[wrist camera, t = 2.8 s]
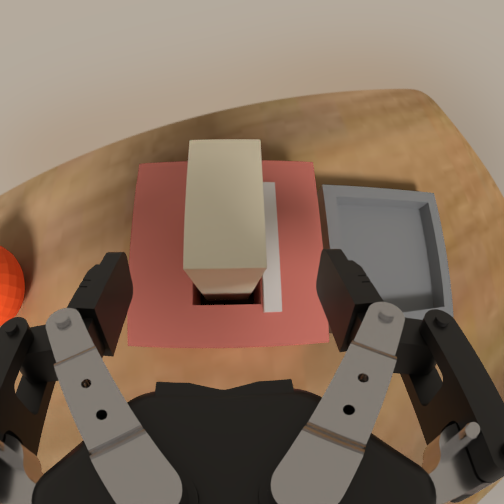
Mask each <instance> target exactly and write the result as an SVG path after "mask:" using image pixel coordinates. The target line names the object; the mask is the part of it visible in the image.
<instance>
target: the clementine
mask: <svg viewBox="0 0 504 504" xmlns="http://www.w3.org/2000/svg"><path fill="white" fill-rule="evenodd" d="M24 293H25V281H24V276H23V271H22V269H21V266H20V264H19V263H18V261H17V260H16V258H15V257H14V256H13V254H12V253H10V252H9V251H8V250H6V249H5V248H3V247H2V246H0V326H1V325H3V324H4V323H5V322H6V321H8V320H10V319H12V318H14V317H15V316H16V315H17V313H18V311H19V309H20V308H21V305H22V302H23V299H24Z"/></svg>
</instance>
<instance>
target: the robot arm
mask: <svg viewBox="0 0 504 504" xmlns="http://www.w3.org/2000/svg"><path fill="white" fill-rule="evenodd" d="M316 290H317V295H318V297H319V300H320V302H321V305H322V308H323V310H324V313H325V315H326V318H327V320H328V323H329V325H330V328H331V331H332V333H333V336H334V338H335V341H336V344H337V346H338V349H339V352H344V351H347V352H346V354H345V356H344V358H343V360H342V362H341V364H340V366H339V368H338V369H337V371H336V373H335V375H334V377H333V379H332V381H331V383H330V384H329V386H328V388H327V390H326V392H325V394H324V395H323V397H320V396H318V395H316V394H313V393H311V392H308V391H304V390H300V389H293V384H292V380H291V379H287V380H275V381H259V382H255V383H251V384H247V385H244V386H240V387H236V388H232V389H227V390H219V389H214V388H209V387H205V386H200V385H196V384H191V383H170V382H156V389H155V392H150V393H146V394H143V395H141V396H138V397H136V398H134V399H132V400H130V401H129V402H126V400H125V399H124V397H123V395H122V394H121V392H120V390H119V389H118V387H117V385H116V384H115V382H114V380H113V378H112V376H111V375H110V373H109V371H108V369H107V367H106V366H105V364H104V362H103V360H102V357H103V356H114V352H115V349H116V346H117V342H118V339H119V336H120V333H121V330H122V327H123V324H124V321H125V318H126V315H127V312H128V309H129V306H130V303H131V300H132V297H133V283H132V279H131V274H130V270H129V265H128V260H127V256H126V254H125V253H124V252H108V253H106V255H105V256H104V258H103V260H102V262H101V263H100V264H96V265H95V266H94V267H93V268H91V269H90V270H89V271H88V272H87V274H86V275H85V277H84V279H83V281H82V282H81V284H80V285H79V288H78V289H77V291H76V292H75V294H74V296H73V298H72V299H71V301H70V303H69V305H68V307H67V308H64V309H60V310H58V311H56V312H54V313H53V314H52V315H51V316H50V317H49V318H48V320H47V322H46V325H41V326H36V327H31V328H30V327H29V325H28V323H27V321H26V320H25V319H24V318H22V317H15V318H12V319H10V320H8V321H6V322H5V323H4V324H3V325H2V326H1V328H0V504H445V503H447V502H454V503H455V502H460V501H462V500H464V499H466V498H468V497H470V496H472V495H473V494H475V493H477V492H479V491H480V490H482V489H484V488H486V487H487V486H489V485H491V484H492V483H494V482H495V481H497V480H498V479H500V478H502V477H503V476H504V403H503V401H502V399H501V397H500V395H499V393H498V391H497V389H496V387H495V385H494V384H493V382H492V380H491V378H490V376H489V375H488V373H487V371H486V369H485V368H484V366H483V364H482V362H481V361H480V359H479V357H478V356H477V354H476V352H475V351H474V349H473V348H472V346H471V344H470V343H469V341H468V340H467V338H466V336H465V335H464V333H463V332H462V330H461V329H460V327H459V326H458V324H457V323H456V321H455V320H454V318H453V317H452V316H451V315H449V314H448V313H446V312H444V311H442V310H438V309H432V310H429V311H427V312H426V314H425V316H424V318H423V320H420V319H413V318H406V317H405V316H404V314H403V312H402V311H401V310H400V309H399V308H398V307H397V306H395V305H393V304H391V303H387V302H384V301H383V299H382V298H381V296H380V295H379V293H378V291H377V290H376V288H375V287H374V285H373V284H372V282H371V281H370V279H369V277H368V276H367V274H366V273H365V271H364V270H363V268H362V267H361V266H360V265H358V264H357V263H356V262H354V261H353V260H348V259H347V257H346V256H345V254H344V253H343V251H342V250H341V249H323V250H322V252H321V256H320V263H319V268H318V274H317V280H316ZM436 364H437V365H438V367H439V369H440V371H441V373H442V375H443V382H442V380H441V378H440V376H439V374H438V372H437V370H436V368H435V365H436ZM19 370H20V371H21V373H22V374H23V375H22V378H21V381H20V383H19V386H18V389H17V392H16V394H15V390H14V384H15V381H16V378H17V375H18V373H19ZM393 373H400V374H401V377H402V379H403V382H404V384H405V387H406V389H407V392H408V394H409V397H410V399H411V402H412V405H413V407H414V410H415V413H416V415H417V418H418V421H419V423H420V426H421V429H422V432H423V435H424V438H425V441H426V443H427V447H426V448H425V450H424V453H423V464H422V467H421V466H419V465H418V464H416V463H415V462H413V461H412V460H410V459H409V458H407V457H406V456H404V455H403V454H401V453H400V452H398V451H397V450H395V449H394V448H392V447H391V446H389V445H388V444H386V443H385V442H383V441H382V440H380V439H379V438H378V437H376V436H375V435H373V434H372V433H371V432H372V429H373V427H374V424H375V422H376V419H377V417H378V414H379V412H380V409H381V406H382V403H383V401H384V398H385V395H386V392H387V389H388V386H389V383H390V380H391V377H392V374H393ZM58 380H59V383H60V386H61V389H62V391H63V394H64V396H65V399H66V402H67V404H68V407H69V409H70V411H71V414H72V416H73V418H74V421H75V423H76V425H77V427H78V430H79V432H80V434H81V436H82V438H83V441H82V442H81V443H80V444H79V445H78V446H76V447H75V448H74V449H73V450H72V451H71V452H69V453H68V454H67V455H66V456H65V457H64V458H62V459H61V460H60V461H59V462H58V463H56V464H55V465H54V466H53V467H52V468H51V469H49V470H48V471H47V472H46V473H45V474H44V475H43V473H42V472H41V464H40V461H39V459H38V458H37V452H38V447H39V442H40V438H41V433H42V429H43V425H44V421H45V417H46V413H47V409H48V406H49V402H50V399H51V395H52V392H53V388H54V385H55V382H56V381H58Z"/></svg>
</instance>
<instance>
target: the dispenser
mask: <svg viewBox="0 0 504 504" xmlns="http://www.w3.org/2000/svg"><path fill="white" fill-rule="evenodd" d="M187 167H188V161H178V162H159V163H144V164H139V171H138V177H137V185H136V193H135V201H134V210H133V220H132V230H131V242H130V257H129V270H130V274H131V279H132V283H133V297H132V300H131V303H130V306H129V309H128V346H141V347H167V348H242V347H268V346H286V345H301V344H313V343H325V342H329V326H328V320H327V318H326V315H325V313H324V310H323V308H322V305H321V302H320V300H319V297H318V295H317V290H316V280H317V274H318V268H319V263H320V256H321V252H322V250H323V243H322V233H321V223H320V214H319V206H318V197H317V189H316V182H315V174H314V167H313V162H299V161H269V160H262V176H263V195H264V214H265V235H266V256H267V269H266V270H265V272H264V273H263V275H262V277H261V278H260V280H259V282H258V283H257V285H256V287H255V288H254V304H245V305H200V291H199V289H198V288H197V287H196V285H195V284H194V283H193V281H192V280H191V279H190V277H189V276H188V275H187V273H186V272H185V271H184V269H183V250H184V220H185V199H186V182H187Z"/></svg>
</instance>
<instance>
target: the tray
mask: <svg viewBox="0 0 504 504" xmlns="http://www.w3.org/2000/svg"><path fill="white" fill-rule="evenodd" d="M317 197H318V206H319V214H320V223H321V233H322V243H323V249H341V250H342V251H343V253H344V254H345V256H346V257H347V259H348V260H353V261H354V262H356V263H357V264H358V265H360V266H361V267H362V268H363V270H364V271H365V273H366V274H367V276H368V277H369V279H370V281H371V282H372V284H373V285H374V287H375V288H376V290H377V291H378V293H379V295H380V296H381V298H382V299H383V301H384V302H387V303H391V304H393V305H395V306H397V307H398V308H399V309H400V310H401V311H402V312H403V314H404V316H405V317H406V318H413V319H420V320H423V318H424V316H425V314H426V312H427V311H429V310H432V309H438V310H442V311H444V312H446V313H448V314H449V315H451V316H452V317H453V304H452V293H451V284H450V276H449V268H448V261H447V255H446V249H445V243H444V237H443V232H442V227H441V222H440V217H439V213H438V209H437V204H436V200H435V196H434V193H428V192H418V191H408V190H397V189H386V188H373V187H358V186H342V185H322V186H321V188H320V189H319V191H318V192H317ZM328 326H329V333H332V331H331V328H330V325H329V323H328Z"/></svg>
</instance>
